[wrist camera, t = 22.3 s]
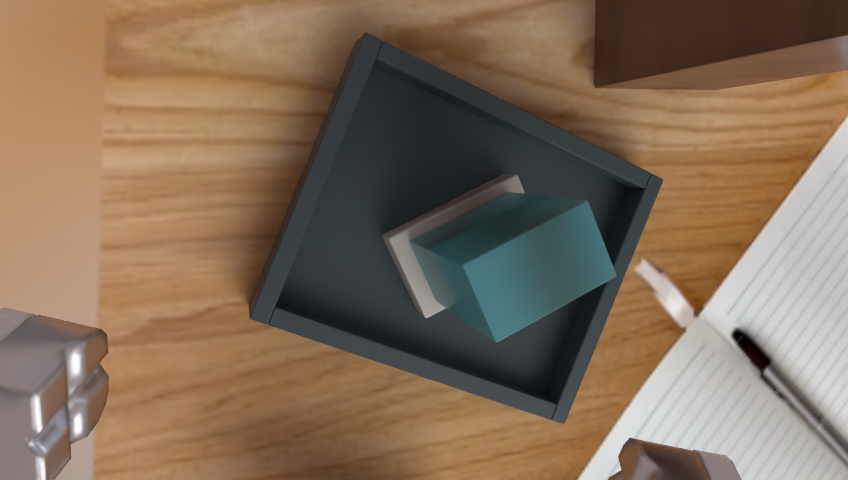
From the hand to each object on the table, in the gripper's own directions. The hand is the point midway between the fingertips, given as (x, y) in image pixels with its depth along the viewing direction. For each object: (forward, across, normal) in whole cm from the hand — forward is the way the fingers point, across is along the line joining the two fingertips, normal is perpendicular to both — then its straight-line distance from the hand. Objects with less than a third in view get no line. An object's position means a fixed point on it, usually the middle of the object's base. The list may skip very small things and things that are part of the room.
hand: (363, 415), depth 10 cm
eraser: (+20, -2, +6) cm, 21 cm away
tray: (+20, -2, +6) cm, 21 cm away
